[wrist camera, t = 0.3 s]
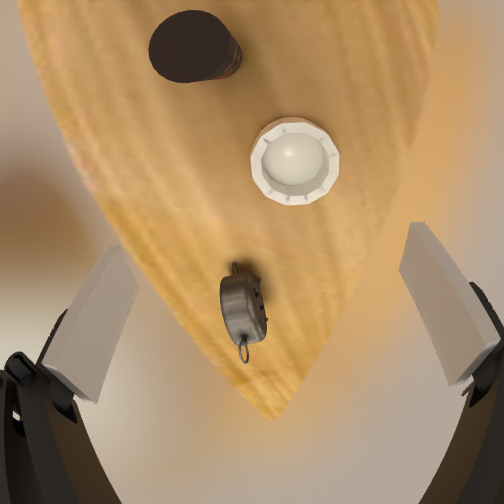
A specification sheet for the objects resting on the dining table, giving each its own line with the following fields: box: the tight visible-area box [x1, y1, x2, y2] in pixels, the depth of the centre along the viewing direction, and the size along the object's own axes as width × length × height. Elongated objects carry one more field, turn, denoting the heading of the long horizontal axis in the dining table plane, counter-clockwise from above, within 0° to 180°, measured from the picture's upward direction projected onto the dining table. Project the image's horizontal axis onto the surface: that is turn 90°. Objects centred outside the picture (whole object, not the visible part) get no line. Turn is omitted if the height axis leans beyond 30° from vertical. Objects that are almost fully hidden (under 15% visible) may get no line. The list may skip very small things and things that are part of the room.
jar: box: [250, 117, 339, 205], centre depth 33 cm, size 10×10×4 cm
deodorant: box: [149, 10, 242, 83], centre depth 21 cm, size 6×6×15 cm
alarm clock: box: [220, 262, 268, 364], centre depth 41 cm, size 11×5×16 cm, turn 16°
